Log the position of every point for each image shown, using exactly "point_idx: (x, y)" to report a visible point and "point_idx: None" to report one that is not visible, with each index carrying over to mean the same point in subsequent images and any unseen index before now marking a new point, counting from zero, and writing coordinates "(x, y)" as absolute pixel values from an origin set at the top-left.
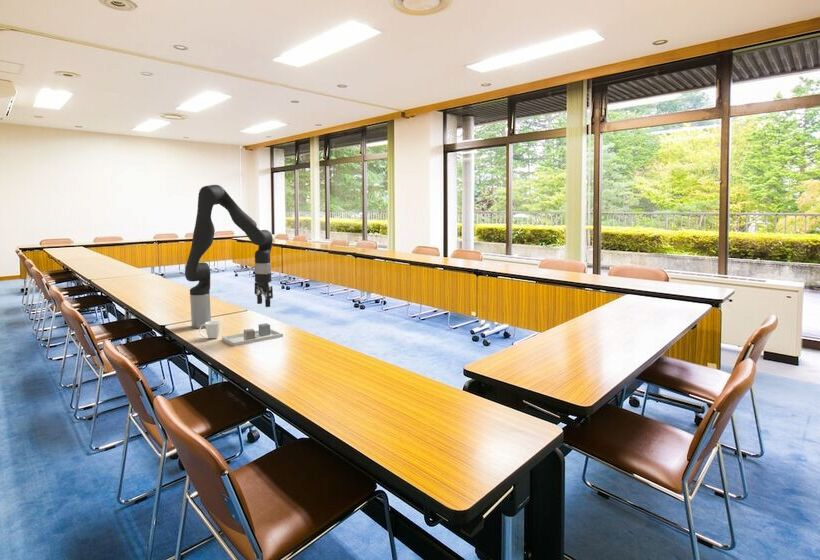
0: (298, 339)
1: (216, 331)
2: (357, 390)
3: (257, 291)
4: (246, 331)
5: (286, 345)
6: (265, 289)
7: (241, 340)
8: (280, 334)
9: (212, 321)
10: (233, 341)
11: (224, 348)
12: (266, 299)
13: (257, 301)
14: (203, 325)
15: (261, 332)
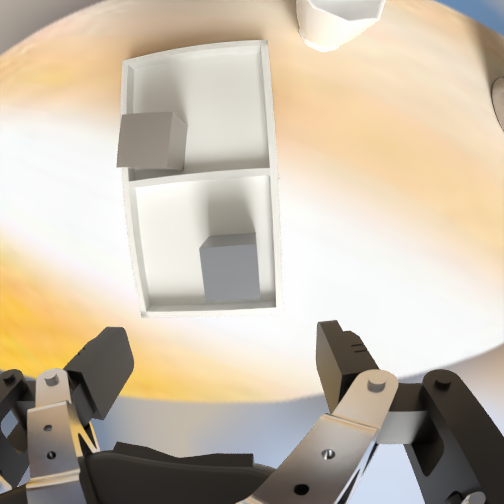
0: None
1: (301, 16)
2: None
3: (317, 445)
4: (129, 118)
5: (48, 267)
6: (19, 486)
7: (194, 114)
8: (139, 305)
9: (379, 6)
10: (202, 78)
11: (141, 37)
12: (73, 379)
13: (335, 332)
14: (499, 96)
15: (219, 238)
